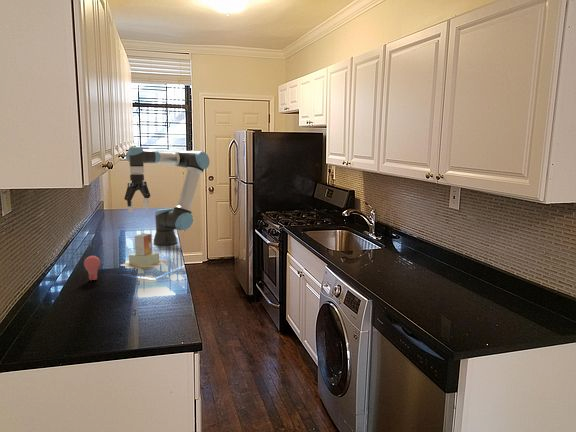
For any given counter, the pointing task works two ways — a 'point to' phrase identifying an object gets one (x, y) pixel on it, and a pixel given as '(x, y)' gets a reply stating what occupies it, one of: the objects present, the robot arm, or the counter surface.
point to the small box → (143, 244)
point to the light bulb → (92, 266)
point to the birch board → (144, 266)
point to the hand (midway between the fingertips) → (138, 210)
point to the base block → (144, 259)
